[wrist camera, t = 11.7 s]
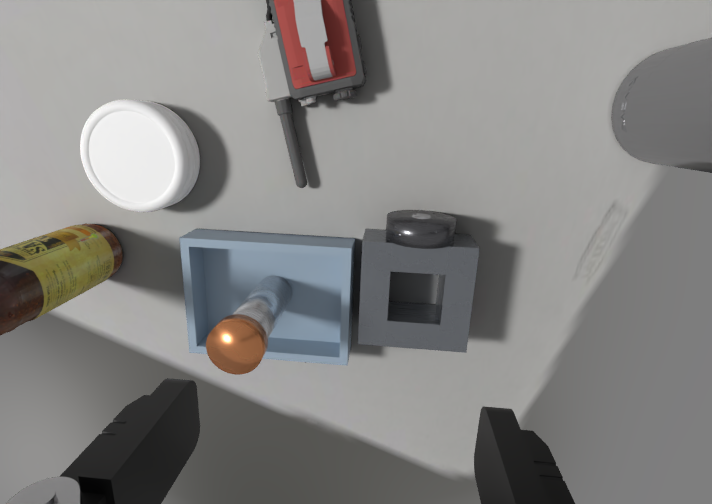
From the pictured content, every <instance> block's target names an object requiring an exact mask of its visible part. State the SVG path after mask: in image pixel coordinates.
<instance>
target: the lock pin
mask: <svg viewBox="0 0 712 504" xmlns="http://www.w3.org/2000/svg"><path fill="white" fill-rule="evenodd" d="M291 298H292V288H291V286H290V284H289V283H288V282H287V281H286V280H285V279H284V278H282V277H280V276H275V275H272V276H267V277H265V278H264V279H262V280H261V282H260V283H259V284H258V285H257V286H256V287H255V289H254V290H253V291H252V292H251V293H250V294H249V296H248V297H247V298H246V299H245V300H244V301H243V303H242V304H241V305H240V306H239V307H238V308H237V310H236V311H235V312H234V313H233V314H232V315H229V316H227V317H225V318H223V319H222V320H221V321H220V322H219V323H218V324H217V325H216V326H215V327H214V328H213V329H212V331H211V332H210V333H209V335H208V337H207V340H206V350H207V354H208V356H209V358H210V360H211V361H212V362H213V363H214V364H215V365H216V366H217V367H218V368H219V369H221V370H223V371H225V372H227V373H231V374H245V373H248V372H250V371H252V370H254V369H255V368H256V367H257V366H258V365H259V363H260V361H261V360H262V358H263V356H264V354H265V352H266V350H267V347H268V338H269V336H270V334H271V333H272V331H273V329H274V328H275V326H276V324H277V323H278V321H279V319H280V318H281V316H282V314H283V312H284V311H285V309H286V307H287V306H288V304H289V302H290V301H291Z"/></svg>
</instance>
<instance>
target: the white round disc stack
mask: <svg viewBox="0 0 712 504" xmlns="http://www.w3.org/2000/svg"><path fill="white" fill-rule="evenodd" d="M80 152H81V159H82V163H83V166H84V169H85V172H86V174H87V176H88V178H89V180H90V181H91V183H92V184H93V186H94V187H95V188H96V190H97V191H98V192H99V193H100V194H101V195H102V196H103V197H105V198H106V199H107V200H108V201H110V202H112V203H113V204H115V205H117V206H119V207H121V208H124V209H127V210H130V211H135V212H152V211H157V210H160V209H162V208H165V207H168V206H171V205H173V204H176V203H178V202H179V201H181V200H182V199H183V198H185V197H186V196H187V195H188V194H189V193H190V191H191V190H192V188H193V187H194V185H195V183H196V181H197V178H198V174H199V169H200V154H199V149H198V145H197V142H196V139H195V137H194V135H193V133H192V131H191V130H190V128H189V127H188V125H187V124H186V123H185V122H184V121H183V120H182V118H180V117H179V116H178V115H177V114H176V113H174V112H173V111H172V110H170V109H169V108H167V107H165V106H163V105H161V104H158V103H155V102H150V101H141V100H130V99H122V100H116V101H112V102H109V103H107V104H105V105H103V106H101V107H100V108H98V109H97V110H96V111H95V112H93V113H92V115H91V116H90V117H89V118H88V120H87V122H86V124H85V126H84V128H83V131H82V135H81V142H80Z"/></svg>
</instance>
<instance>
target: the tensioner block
mask: <svg viewBox="0 0 712 504" xmlns="http://www.w3.org/2000/svg"><path fill="white" fill-rule="evenodd" d="M455 227H456V218H454V217H453V216H450V215H447V214H443V213H438V212H432V211H422V210H401V211H394V212H390V213H388V214H387V226H386V230H377V229H366V230H365V233H364V237H363V241H362V260H361V283H360V306H359V329H358V344H363V345H376V346H389V347H402V348H415V349H428V350H441V351H453V352H466V350H467V342H468V335H469V327H470V319H471V311H472V303H473V296H474V288H475V280H476V272H477V265H478V257H479V249H480V248H479V247H478V245H477V244H476V242H475V241H474V239H473V238H472V236H471V235H463V234H455ZM390 272H407V273H422V274H437V275H439V278H438V288H437V298H436V304H421V303H407V302H393V301H389V287H390Z"/></svg>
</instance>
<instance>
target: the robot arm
mask: <svg viewBox="0 0 712 504" xmlns="http://www.w3.org/2000/svg"><path fill="white" fill-rule="evenodd" d="M611 118H612V127H613V131H614V134H615V136H616V139H617V141H618V142H619V144H620V145H621V146H622V148H623V149H624V150H625V151H626V152H628V153H629V154H630V155H631V156H633V157H635V158H637V159H639V160H642V161H646V162H650V163H655V164H661V165H667V166H674V167H678V168H685V169H691V170H698V171H704V172H710V173H712V38H708V39H705V40H700V41H696V42H693V43H689V44H685V45H681V46H678V47H674V48H670V49H666V50H664V51H661V52H658V53H656V54H653V55H652V56H650V57H648V58H647V59H645V60H643V61H642V62H641V63H639V64H638V65H637V66H636V67H635V68H634V69H633V70H632V71H631V72H630V73H629V74H628V75H627V77H626V78H625V79H624V81H623V82H622V84H621V86H620V87H619V89H618V91H617V93H616V96H615V99H614V103H613V107H612V117H611ZM199 432H200V421H199V409H198V397H197V386H196V383H195V382H194V381H191V380H180V379H165V380H164V381H163V382H162V383H161V384H160V385H159V386H158V388H157V389H156V390H155V391H154V392H153V393H152V394H151V395H150V396H149V395H144V396H142V397H140V398H139V399H137V400H136V401H134V402H132V403H131V404H129V405H127V406H126V407H125V408H124V409H123V410H122V411H121V412H120V413H119V414H118V415H117V416H116V418H114V420H113V422H112V423H110V424H109V425H108V426H107V427H106V428H105V429H104V430H103V431H102V434H99V435H98V436H97V437H96V439H95V440H94V441H93V442H92V443H91V444H90V445H89V446H88V447H87V448H86V449H85V450H84V451H83V452H82V453H81V454H80V455H79V457H78V458H77V459H76V460H75V461H74V462H73V463H72V464H71V465H70V466H69V467H68V468H67V469H66V470H65V471H64V472H63V473H62V474H61V476H60V477H52V478H48V479H44V480H41V481H38V482H36V483H34V484H31V485H29V486H27V487H26V488H24V489H22V490H21V491H19V492H18V493H17V494H15V495H14V496H13V497H12V498H11V499H10V500H9V501H8V502H7V503H6V504H161V503H162V501H163V500H164V498H165V496H166V495H167V493H168V491H169V490H170V488H171V487H172V485H173V483H174V482H175V480H176V478H177V477H178V475H179V474H180V472H181V470H182V469H183V467H184V465H185V464H186V462H187V460H188V459H189V457H190V456H191V454H192V452H193V451H194V449H195V447H196V444H197V441H198V438H199ZM474 470H475V478H476V483H477V487H478V491H479V496H480V500H481V504H575V503H574V500H573V498H572V496H571V494H570V492H569V490H568V488H567V485H566V483H565V481H563V479H562V475H561V473H560V471H559V469H558V467H557V466H556V462H555V460H554V458H553V456H552V454H551V452H550V449H549V448H548V446H547V445H546V444H545V443H544V442H543V441H542V440H541V439H540V438H539V437H538V436H537V435H536V434H535V433H534V432H533V431H528V430H521V429H520V427H519V424H518V422H517V419H516V417H515V415H514V412H513V411H512V409H505V408H494V407H482V409H481V413H480V420H479V426H478V433H477V440H476V447H475V454H474Z"/></svg>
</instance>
